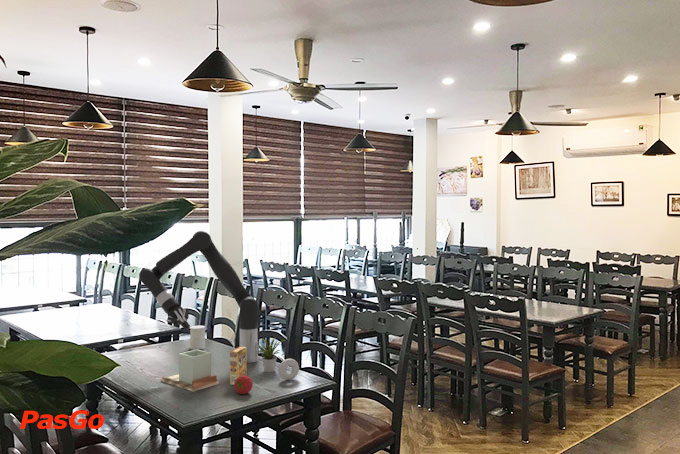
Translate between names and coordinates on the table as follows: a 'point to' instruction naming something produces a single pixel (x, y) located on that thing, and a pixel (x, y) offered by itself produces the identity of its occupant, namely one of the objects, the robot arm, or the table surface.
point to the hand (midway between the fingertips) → (188, 328)
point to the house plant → (269, 355)
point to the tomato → (243, 384)
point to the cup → (197, 337)
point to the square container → (194, 365)
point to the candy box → (238, 363)
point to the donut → (293, 372)
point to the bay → (176, 377)
